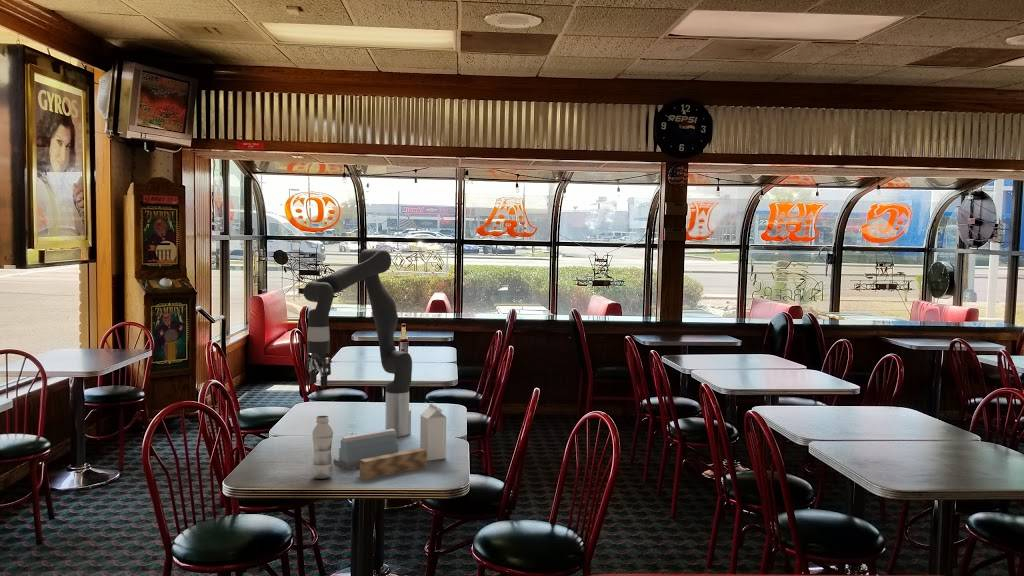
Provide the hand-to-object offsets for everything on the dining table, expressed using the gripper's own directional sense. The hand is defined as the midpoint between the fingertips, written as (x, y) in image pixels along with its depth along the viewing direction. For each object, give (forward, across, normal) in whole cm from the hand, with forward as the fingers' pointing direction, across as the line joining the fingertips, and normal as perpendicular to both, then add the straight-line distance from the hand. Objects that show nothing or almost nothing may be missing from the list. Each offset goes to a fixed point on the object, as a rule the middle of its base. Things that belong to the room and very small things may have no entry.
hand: (318, 385), depth 273 cm
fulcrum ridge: (+26, -14, -12) cm, 32 cm away
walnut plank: (+26, -30, -13) cm, 42 cm away
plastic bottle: (+26, -22, +9) cm, 36 cm away
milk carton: (+26, -23, -33) cm, 48 cm away
